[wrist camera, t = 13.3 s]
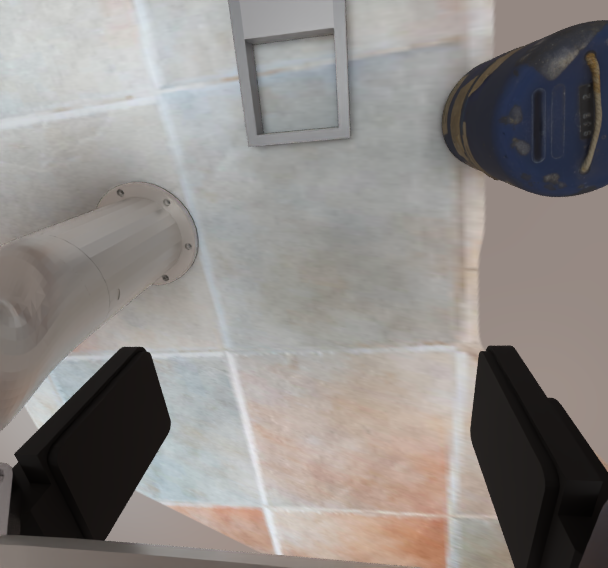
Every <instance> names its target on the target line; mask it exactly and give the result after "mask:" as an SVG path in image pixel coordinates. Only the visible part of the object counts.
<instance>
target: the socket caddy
mask: <svg viewBox="0 0 608 568" xmlns="http://www.w3.org/2000/svg"><path fill="white" fill-rule="evenodd" d="M228 4H229V11H230V18H231V25H232V32H233V40H234V47H235V54H236V61H237V68H238V75H239V83H240V90H241V97H242V104H243V111H244V118H245V126H246V133H247V140H248V147H252V146H264V145H275V144H287V143H298V142H309V141H321V140H332V139H344V138H350V109H349V83H348V56H347V29H346V2H345V0H228ZM332 34H334V39H335V59H336V80H337V100H338V121H339V127H330V128H319V129H308V130H297V131H287V132H276V133H265V134H264V132H263V123H262V115H261V107H260V99H259V91H258V83H257V75H256V66H255V58H254V50H253V45H255V44H263V43H270V42H278V41H286V40H293V39H301V38H309V37H316V36H324V35H332Z"/></svg>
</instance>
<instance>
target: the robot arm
mask: <svg viewBox="0 0 608 568" xmlns="http://www.w3.org/2000/svg"><path fill="white" fill-rule="evenodd" d="M168 200H169V201H170V203H169V201H168ZM190 244H191V245H192V246H190ZM197 248H198V238H197V233H196V228H195V225H194V223H193V220H192V218H191V216H190V214H189V213H188V211H187V209H186V208H185V207H184V206H183V205H182V203H181V202H180V201H179V200H178V199H177V198H175V197H174V196H173V195H172V194H171V193H169V192H167V191H166V190H164V189H163V188H160V187H158V186H156V185H153V184H149V183H144V182H131V183H126V184H122V185H119V186H116V187H114V188H113V189H111V190H110V191H108V192H107V193H106V194H105V195H104V196H103V197H102V198H101V200H100V202H99V204H98V206H97V208H96V210H94V211H91V212H88V213H86V214H83V215H80V216H77V217H75V218H72V219H69V220H67V221H64V222H61V223H58V224H56V225H53V226H50V227H48V228H45V229H42V230H39V231H37V232H34V233H31V234H29V235H26V236H23V237H20V238H18V239H15V240H13V241H10V242H8V243H6V244H4V245H2V246H0V431H1V430H3V428H5V427H6V425H8V424H9V423H10V422H11V421H12V419H13V418H14V417H15V416H16V415H17V414H18V413H19V411H20V410H21V409H22V408H23V407H24V405H25V404H26V403H27V402H28V400H29V399H30V398H31V397H32V395H33V394H34V393H35V391H36V390H37V389H38V387H39V386H40V385H41V383H42V382H43V381H44V380H45V379H46V377H47V376H48V375H49V374H50V373H51V371H52V370H53V369H54V368H55V367H56V366H57V365H58V364H59V363H60V362H61V361H62V360H63V359H64V358H65V357H66V356H67V355H68V354H69V353H70V352H71V351H72V350H74V349H75V348H76V347H77V346H78V345H79V344H80V343H82V342H83V341H84V340H85V339H86V338H87V337H89V336H90V335H91V334H92V333H93V332H94V331H96V330H97V329H98V328H100V327H101V326H102V325H103V324H104V323H106V322H107V321H108V320H109V319H110V318H112V317H113V316H114V315H115V314H116V313H118V312H119V311H120V310H121V309H122V308H124V307H125V306H126V305H127V304H128V303H130V302H131V301H132V300H133V299H134V298H136V297H137V296H138V295H139V294H140V293H142V292H143V291H144V290H145V289H147V288H148V287H149V286H150V285H161V284H167V283H170V282H173V281H175V280H177V279H178V278H180V277H181V276H182V275H183V274H185V273H186V272H187V271H188V269H189V268H190V267H191V265H192V264H193V262H194V259H195V257H196V253H197ZM170 426H171V421H170V417H169V413H168V410H167V407H166V403H165V400H164V397H163V393H162V390H161V387H160V383H159V380H158V377H157V373H156V370H155V366H154V363H153V360H152V356H151V354H150V353H149V352H146V350H145V349H144V348H143V347H122V348H121V349H119V350H118V351H117V352H116V353H115V354H114V355H113V356H112V357H111V358H110V359H109V360H108V361H107V362H106V363H105V364H104V365H103V366H102V367H101V368H100V369H99V370H98V371H97V372H96V373H95V374H94V375H93V376H92V377H91V378H90V379H89V380H88V381H87V382H86V383H85V384H84V385H83V386H82V387H81V388H80V389H79V390H78V391H77V392H76V393H75V394H74V395H73V396H72V397H71V398H70V399H69V400H68V401H67V402H66V403H65V404H64V405H63V406H62V407H61V408H60V409H59V410H58V411H57V412H56V413H55V414H54V415H53V416H52V417H51V418H50V419H49V420H48V421H47V422H46V423H45V424H44V425H43V426H42V427H41V428H40V429H39V430H38V431H37V432H36V433H35V434H34V435H33V436H32V437H31V438H30V439H29V440H28V441H27V442H26V443H25V444H24V445H23V446H22V447H21V448H20V449H19V450H18V451H17V452H16V453H15V454H14V455H15V457H16V458H17V460H18V463H17V464H16V465H15V466H14V467H13V468H12V467H11V466H10V465H8V464H7V463H0V568H419V567H408V566H397V565H386V564H375V563H364V562H353V561H342V560H330V559H319V558H308V557H297V556H285V555H273V554H262V553H248V552H238V551H226V550H214V549H201V548H189V547H178V546H165V545H152V544H139V543H127V542H114V541H104V540H105V539H106V538H107V536H108V534H109V533H110V531H111V529H112V528H113V526H114V524H115V522H116V521H117V519H118V517H119V516H120V514H121V512H122V511H123V509H124V507H125V506H126V504H127V502H128V501H129V499H130V497H131V496H132V494H133V492H134V491H135V489H136V487H137V485H138V484H139V482H140V480H141V479H142V477H143V475H144V474H145V472H146V470H147V469H148V467H149V465H150V464H151V462H152V460H153V458H154V457H155V455H156V453H157V452H158V450H159V448H160V447H161V445H162V443H163V442H164V440H165V438H166V436H167V435H168V433H169V431H170ZM470 433H471V441H472V444H473V447H474V450H475V453H476V456H477V459H478V462H479V465H480V468H481V471H482V473H483V476H484V479H485V482H486V485H487V488H488V491H489V494H490V497H491V500H492V503H493V505H494V508H495V511H496V514H497V517H498V520H499V523H500V526H501V529H502V532H503V535H504V538H505V540H506V543H507V546H508V549H509V552H510V555H511V558H512V561H513V564H514V567H515V568H608V472H607V470H606V469H605V467H604V466H603V464H602V463H601V462H600V460H599V459H598V457H597V456H596V454H595V453H594V451H593V450H592V449H591V447H590V446H589V444H588V443H587V441H586V440H585V439H584V437H583V436H582V434H581V433H580V431H579V430H578V428H577V427H576V426H575V424H574V423H573V421H572V420H571V418H570V417H569V415H568V414H567V413H566V411H565V410H564V408H563V407H562V405H561V404H560V403H559V402H558V401H557V400H556V399H554V398H547V397H546V395H545V393H544V392H543V390H542V389H541V387H540V386H539V384H538V383H537V381H536V380H535V378H534V377H533V375H532V374H531V372H530V371H529V369H528V368H527V366H526V365H525V363H524V362H523V360H522V359H521V357H520V356H519V354H518V353H517V351H516V350H515V348H514V347H513V346H488V347H487V349H486V351H481V352H480V353H479V357H478V366H477V375H476V384H475V393H474V402H473V410H472V419H471V428H470Z"/></svg>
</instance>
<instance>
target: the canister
mask: <svg viewBox="0 0 608 568" xmlns="http://www.w3.org/2000/svg"><path fill="white" fill-rule="evenodd" d="M442 130H443V135H444V138H445V141H446V144H447V146H448V148H449V149H450V151H451V152H452V153H453V154H454V156H455V157H457V158H458V159H459V160H460V161H462V162H463V163H465V164H467V165H469V166H471V167H473V168H475V169H477V170H480V171H482V172H484V173H485V174H486V175H487V176H489V177H491V178H493V179H494V180H501V181H504V182H506V183H508V184H510V185H513V186H515V187H518V188H520V189H523V190H525V191H528V192H531V193H534V194H538V195H542V196H549V197H567V196H575V195H579V194H584V193H587V192H591V191H594V190H596V189H599V188H601V187H604V186H606V185H608V20H602V21H592V22H586V23H581V24H578V25H574V26H571V27H568V28H565V29H563V30H560V31H558V32H556V33H553V34H551V35H549V36H547V37H544V38H542V39H540V40H537V41H535V42H532V43H530V44H528V45H525V46H522V47H519V48H516V49H514V50H511V51H509V52H507V53H504V54H502V55H500V56H497V57H495V58H493V59H491V60H489V61H487V62H484V63H482V64H480V65H478V66H477V67H475V68H473V69H472V70H471V71H469V72H468V73H467V74H466V75H465V76H464V77H463V78H462V79H461V80H460V81H459V82H458V83H457V85H456V86H455V87H454V89H453V90H452V92H451V94H450V95H449V97H448V99H447V102H446V104H445V108H444V111H443V117H442Z"/></svg>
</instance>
